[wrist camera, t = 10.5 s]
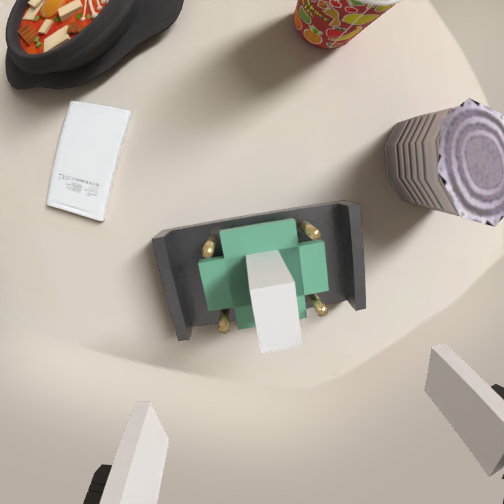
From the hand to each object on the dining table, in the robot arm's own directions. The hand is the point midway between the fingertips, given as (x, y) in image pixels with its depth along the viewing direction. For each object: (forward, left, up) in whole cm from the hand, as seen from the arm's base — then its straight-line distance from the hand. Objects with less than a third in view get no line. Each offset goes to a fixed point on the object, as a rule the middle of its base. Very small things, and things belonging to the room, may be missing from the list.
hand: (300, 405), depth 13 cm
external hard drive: (-17, +15, -23) cm, 33 cm away
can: (+21, +9, -23) cm, 32 cm away
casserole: (-16, +33, -23) cm, 43 cm away
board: (0, 0, -19) cm, 19 cm away
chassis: (0, 0, -22) cm, 23 cm away
